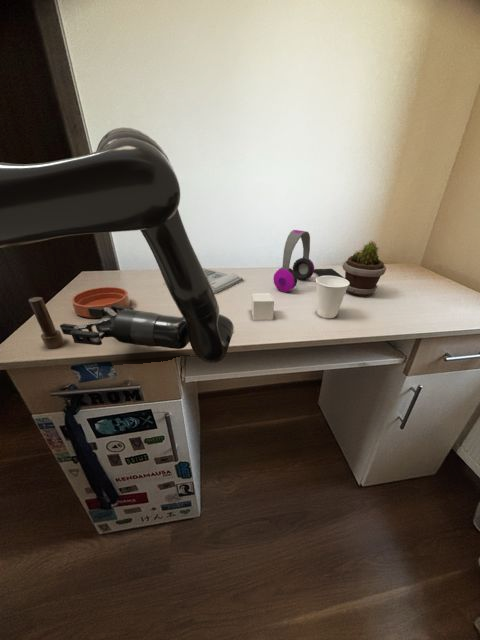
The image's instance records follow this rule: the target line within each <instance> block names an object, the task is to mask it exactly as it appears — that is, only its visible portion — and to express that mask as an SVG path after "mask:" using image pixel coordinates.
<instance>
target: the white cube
mask: <svg viewBox="0 0 480 640" xmlns="http://www.w3.org/2000/svg"><path fill="white" fill-rule="evenodd" d="M274 310H275V299H274V297H273V295H272V292H271V293H270V292H269V293H268V292H267V293H266V292H264V293H263V292H262V293H251V315H252V320H253V321H265V320H269V321H270V320H271V321H272V320H274Z"/></svg>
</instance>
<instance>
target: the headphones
mask: <svg viewBox="0 0 480 640" xmlns="http://www.w3.org/2000/svg"><path fill="white" fill-rule="evenodd" d="M285 240H286V241H285V244H284V249H283V254H282V255H283V257H282V266H281V267H280V268H279V269H278V270H276V272H275V273H274V274H273V280H272V281H273V284H274V286H275V288H276V289H277V290H279V291H280V292H283V293H284V292H285V293H287V292H290V291H292V290H294V289H295V287H296V286H297V284H298V280H299V281H306V280H308V279H310V278H311V277H313V275H314V273H315V272H314V269H315V265H314V262H313V261H312V260H311V259H310V251H311V234H310V232H309V231H305V230H299V229H292V230H291V231H290V232H289V234H288V236H287V238H286V239H285ZM299 240H301V244H302V249H303V250H302V257H300V258H297V259H296V260H295V261H294V263H293V265H292V268H290V265H291V259H292V255H293V252H294V249H295V247H296V245H297V243H299Z"/></svg>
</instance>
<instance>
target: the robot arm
mask: <svg viewBox="0 0 480 640" xmlns="http://www.w3.org/2000/svg"><path fill="white" fill-rule="evenodd" d="M180 202H181V186H180V182H179V179H178V176H177V174H176V171H175V169H174V167H173V165H172V163H171V161H170V160H169V158H168V155H167V153H165V151H164V149H163V148H162V147H161V146H160V145H159V144H158V142H157V141H156V140H155V139H153V138H152V137H150V136H149V135H148V134H147V133H145V132H143V131H141V130H139V129H135V128H132V127H117V128H113V129H111V130H109V131H108V132H107V133H105V135H104V136H102V138H101V140H100V141H99V143H98V145H97V148H96V150H95V151H94V152H90V153H86V154H83V155H78V156H73V157H69V158H64V159H58V160H53V161H48V162H39V163H26V164H23V163H9V162H0V249H4V248H10V247H16V246H22V245H28V244H33V243H38V242H44V241H50V240H53V239H58V238H64V237H70V236H71V237H72V236H80V235H89V234H90V235H91V234H103V233H119V232H133V231H134V232H136V231H140V232H141V235H142V236H143V238H144V239H145V241H146V243H147V245H148V247H149V249H150V251H151V253H152V255H153V257H154V259H155V262H156V264H157V266H158V269H159V271H160V274H161V276H162V278H163V281H164V283H165V285H166V288H167V290H168V292H169V295H170V296H171V298H172V300H173V302H174V304H175V306H176V307H177V309H178V311H179V313H180V314H181V316H176V315H168V314H162V313H157V312H152V311H145V310H136V309H135V308H134V307H132V306H128V307H126V306H120V305H111V308H108V307H107V308H104V309H101V308H93V307H90V308H89V309H88V311H89V314H90V316H91V317H98V318H97V319H98V320H92V321H87V322H86V323H85V324H80V325H77V324H70V323H62V324H60V325H59V327H60V330H61V333H62V335H66V336H71V337H72V340H73V343H74V344H81V345H90V346H101V345H102V344H103V341H102V340H103V339H104V338H113V339H115V340H116V341H118V342H120V343H122V344H129V345H135V346H144V347H153V348H154V347H158V348H167V349H172V350H173V349H175V350H182V349H184V348H186V347H187V346H188V345H189V344H190V347H191V350H192V352H193V353H194V354H195V355H196V356H197V358H199V359H200V360H202V361H204V362H206V363H210V364H211V363H212V364H213V363H218V362H220V361H222V360H224V358H225V357H226V355H227V353H228V350H229V347H230V344H231V342H232V341H231V340H232V337H233V335H234V330H235V329H234V328H235V326H234V323H233V322H232V320H231V319H230V318H229V317H227V316H225V315H224V314H221V313H220V306H219V302H218V300H217V298H216V295H215V293H214V292H213V290H212V288H211V285H210V283H209V281H208V278H207V276H206V274H205V272H204V270H203V268H204V267H203V266H202V264H201V262H200V260H199V257H198V255H197V253H196V251H195V249H194V247H193V245H192V243H191V240H190V238H189V236H188V233H187V231H186V228H185V225H184V223H183V222H184V221H183V220H182V216H181V214H180V211H179V206H180ZM117 309H118V310H119V311H120V312H118V310H117ZM93 327H95V329H96V331H95V330H94V329H93Z"/></svg>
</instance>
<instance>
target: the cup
mask: <svg viewBox="0 0 480 640" xmlns="http://www.w3.org/2000/svg"><path fill="white" fill-rule="evenodd" d="M344 278H345V277H344ZM344 278H341V277H337V276H317V277H316V278H315V282H316V283H315V284H316V285H315V287H316V314H317V316H319V317H321V318H324V319H333V318H335V317H337V315H338V313H339V310H340V308H341V305H342V303H343V300H344V297H345V295H346V293H347V292H346V290H347V287H348V286H349V284H350V283H349V281H348V280H346V279H344Z"/></svg>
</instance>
